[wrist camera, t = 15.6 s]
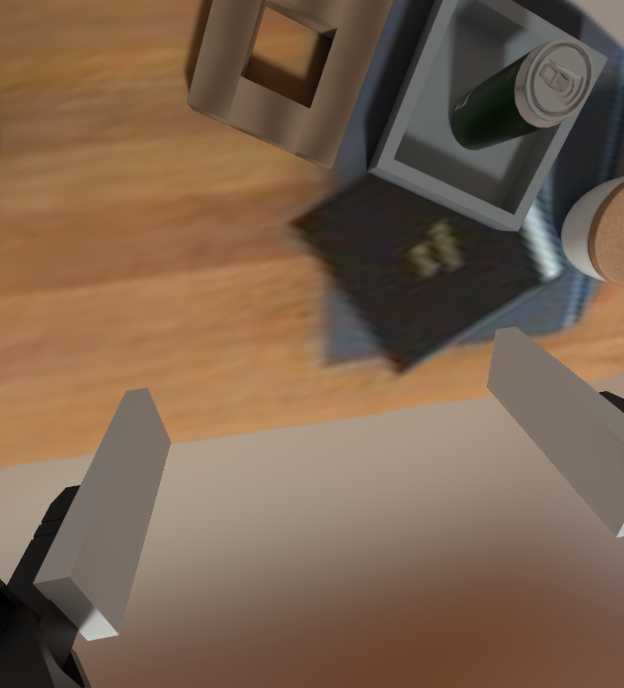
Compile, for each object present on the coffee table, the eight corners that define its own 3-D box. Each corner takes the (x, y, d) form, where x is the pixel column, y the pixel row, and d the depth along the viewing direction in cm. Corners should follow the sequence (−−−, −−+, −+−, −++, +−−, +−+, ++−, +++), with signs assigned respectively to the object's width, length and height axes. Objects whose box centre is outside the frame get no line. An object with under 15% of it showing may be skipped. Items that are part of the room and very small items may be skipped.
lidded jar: (535, 279, 44) (600, 295, 35) (548, 180, 41) (623, 170, 32) (621, 272, 45) (705, 285, 36) (641, 174, 42) (739, 162, 33)
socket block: (192, 109, 36) (186, 102, 33) (238, -66, 32) (235, -88, 30) (328, 169, 38) (332, 166, 36) (385, 15, 35) (393, 0, 32)
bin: (366, 171, 39) (376, 166, 35) (436, -6, 35) (456, -34, 31) (496, 229, 42) (517, 231, 38) (574, 73, 38) (608, 58, 34)
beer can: (437, 133, 37) (507, 97, 26) (468, 78, 36) (556, 14, 25) (479, 162, 39) (564, 139, 27) (510, 109, 37) (613, 63, 26)
